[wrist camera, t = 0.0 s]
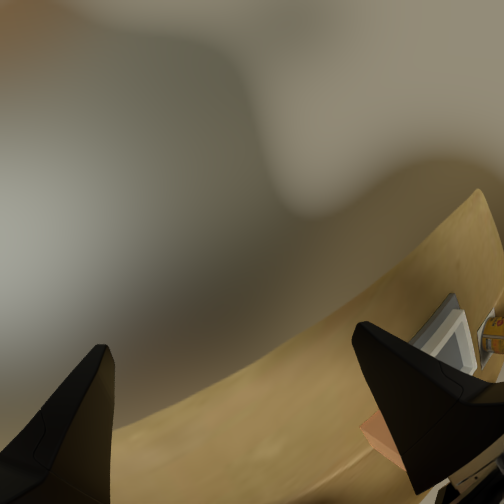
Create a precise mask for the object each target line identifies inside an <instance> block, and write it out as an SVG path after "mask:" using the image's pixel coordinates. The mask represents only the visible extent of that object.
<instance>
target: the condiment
mask: <svg viewBox="0 0 504 504" xmlns="http://www.w3.org/2000/svg"><path fill="white" fill-rule="evenodd" d="M477 334H478V342H479V350H480V355H481V365H482V370H483V368H484V366H485V364H486V363H487V361H488V360H489V358H490V357H491V355H492V354H493V353H498V354H504V317H495V312H494V308H493V309H492V311H491V312H490V314H489V315H488V316H487V318H486V320H485V321H484V322H483V324H482V326H481V327H480V329H479V330H478V331H477Z"/></svg>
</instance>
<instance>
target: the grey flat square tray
mask: <svg viewBox="0 0 504 504" xmlns="http://www.w3.org/2000/svg"><path fill="white" fill-rule="evenodd" d="M409 344H411V345H413V346H414V347H416V348H418V349H420V350H422V351H424V352H425V353H427V354H429V355H431V356H433V357H435V358H437V359H438V360H440V361H442V362H444V363H446V364H448V365H450V366H452V367H454V368H456V369H458V370H460V371H462V372H464V373H467V374H469V375H471V376H472V375H473V373H474V372H475V370H476V369H477V363H476V358H475V353H474V348H473V343H472V339H471V335H470V331H469V327H468V323H467V319H466V315H465V312H464V310H460V308H459V304H458V301H457V298H456V295H455V293H450V294H449V295H448V296H447V298H446V299H445V300H444V302H443V303H442V304H441V305H440V307H439V308H438V309H437V310H436V312H435V313H434V314H433V315H432V316H431V318H430V319H429V320H428V321H427V322H426V324H425V325H424V326H423V327H422V328H421V329H420V331H419V332H418V333H417V334H416V335H415V336H414V337H413V338H412V339H411V340H410V342H409Z"/></svg>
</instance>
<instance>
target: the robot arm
mask: <svg viewBox="0 0 504 504" xmlns="http://www.w3.org/2000/svg"><path fill="white" fill-rule="evenodd" d="M352 345H353V348H354V351H355V353H356V356H357V359H358V362H359V364H360V367H361V370H362V373H363V375H364V377H365V380H366V382H367V384H368V386H369V388H370V390H371V392H372V394H373V396H374V399H375V401H376V403H377V405H378V407H379V409H380V412H381V414H382V416H383V418H384V420H385V423H386V425H387V427H388V429H389V431H390V434H391V436H392V438H393V441H394V443H395V445H396V447H397V450H398V452H399V454H400V456H401V459H402V462H403V464H404V467H405V469H406V471H407V474H408V476H409V479H410V481H411V484H412V486H413V489H414V491H415V494H416V495H419V494H421V493H423V492H424V491H426V490H428V489H430V488H431V487H433V486H435V485H436V484H438V483H440V482H441V481H443V480H444V479H446V478H448V479H449V480H450V482H449V483H448V484H446V485H445V486H444V487H442V488H441V489H440V490H439V491H438V494H437V497H436V501H435V504H504V382H500V383H489V382H486V381H483V380H481V379H478V378H476V377H474V376H471V375H469V374H467V373H464V372H462V371H460V370H458V369H456V368H454V367H452V366H450V365H448V364H446V363H444V362H442V361H440V360H438V359H437V358H435V357H433V356H431V355H429V354H427V353H425V352H424V351H422V350H420V349H418V348H416V347H414V346H413V345H411V344H409V343H407V342H405V341H403V340H401V339H400V338H398V337H396V336H394V335H392V334H390V333H389V332H387V331H385V330H383V329H381V328H379V327H378V326H376V325H374V324H372V323H370V322H368V321H364V322H359V323H358V324H357V325H356V328H355V331H354V333H353V336H352ZM114 381H115V362H114V359H113V357H112V354H111V352H110V349H109V347H108V345H106V344H97V345H95V346H94V347H93V348H92V349H91V351H90V352H89V353H88V354H87V355H86V356H85V357H84V358H83V360H82V361H81V362H80V363H79V364H78V365H77V366H76V367H75V369H74V370H73V371H72V372H71V373H70V374H69V375H68V377H67V378H66V379H65V380H64V381H63V382H62V384H61V385H60V386H59V387H58V388H57V389H56V391H55V392H54V393H53V394H52V395H51V396H50V398H49V399H48V400H47V401H46V402H45V404H44V405H43V406H42V407H41V410H39V411H38V412H37V413H36V415H35V416H34V417H33V418H32V419H31V421H30V422H29V423H28V424H27V425H26V426H25V428H24V429H23V430H22V431H21V432H20V433H19V434H18V435H17V436H16V437H15V438H14V439H13V440H12V441H11V442H10V443H9V444H8V445H7V446H6V447H5V448H4V449H3V450H2V451H1V452H0V504H110V458H111V439H112V426H113V415H114V398H115V397H114V389H115V388H114V387H115V382H114Z"/></svg>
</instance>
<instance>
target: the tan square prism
mask: <svg viewBox="0 0 504 504" xmlns="http://www.w3.org/2000/svg"><path fill="white" fill-rule="evenodd" d="M359 427H360V429H361V430H362V432H363V434H364V435H365V437H366V439H367V440H368V442H369V443H370V445H371V446H372V447H373V448H374V449H376V450H377V451H378V452H380V453H381V454H382V455H384V456H385V457H386V458H388V459H389V460H390V461H392V462H393V463H395V464H396V465H397V466H399V467H400V468H402V469H403V470H404V471H406V469H405V467H404V464H403V462H402V459H401V456H400V454H399V452H398V450H397V447H396V445H395V443H394V441H393V438H392V436H391V434H390V431H389V429H388V427H387V425H386V423H385V420H384V418H383V416H382V414H381V412H380V409H379V410H378V411H377V412H376V413H374V414H373V415H372V416H371V417H370V418H369V419H368V420H367V421H365V422H364V423H363V424H362V425H361V426H359ZM406 472H407V471H406Z"/></svg>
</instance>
